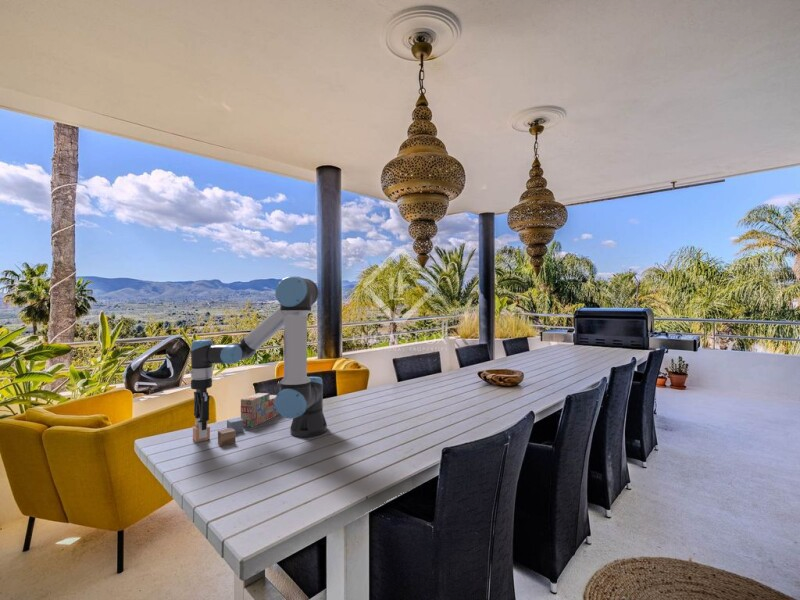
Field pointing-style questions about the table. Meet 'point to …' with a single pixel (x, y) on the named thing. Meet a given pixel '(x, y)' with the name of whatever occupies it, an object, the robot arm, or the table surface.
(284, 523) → the table surface
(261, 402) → the stack of blocks
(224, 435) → the walnut cube
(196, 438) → the terracotta cube
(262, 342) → the robot arm
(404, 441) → the table surface
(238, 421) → the slate rectangular block
